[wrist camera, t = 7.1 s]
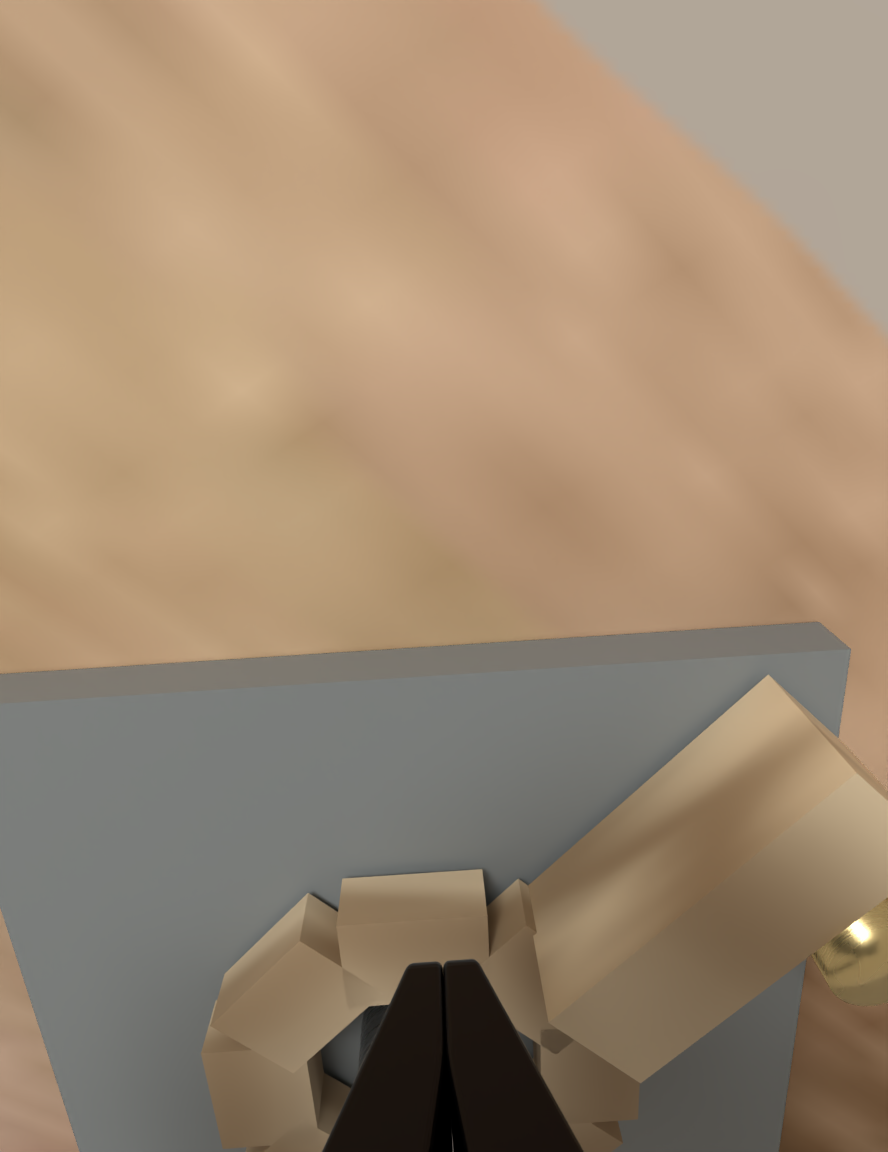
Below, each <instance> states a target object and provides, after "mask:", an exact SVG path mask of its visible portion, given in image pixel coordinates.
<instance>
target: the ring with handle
mask: <svg viewBox="0 0 888 1152" xmlns="http://www.w3.org/2000/svg"><path fill="white" fill-rule="evenodd" d="M887 897H888V791H887V790H886V788H885V787H884V786H883V785H882V784H881V783H880V782H879V781H878V780H877V779H876V778H875V777H874V776H873V774H872V773H871V772H870V771H869V770H868V769H867V768H866V767H865V766H864V765H863V764H862V763H861V761H860V760H859V759H858V758H857V757H856V756H855V755H854V754H853V753H852V752H851V751H850V750H849V749H848V747H847V746H846V745H845V744H844V743H843V742H842V741H841V740H840V739H838V738H837V737H836V736H835V735H834V734H833V733H832V732H831V731H830V730H829V729H828V728H826V727H825V726H824V725H823V724H822V723H821V722H820V721H819V720H818V719H817V718H815V717H814V716H813V715H812V714H811V713H810V712H809V711H808V710H807V709H806V708H805V707H803V706H802V705H801V704H800V703H799V702H798V701H797V700H796V699H795V698H794V697H793V696H791V695H790V694H789V693H788V692H787V691H786V690H785V689H784V688H783V687H782V686H781V685H779V684H778V683H777V682H776V681H775V680H774V679H773V678H772V677H771V676H770V675H767V676H766V677H765V678H764V679H762V680H761V681H760V682H759V683H758V684H757V685H756V686H755V687H753V688H752V689H751V690H750V691H749V692H748V693H747V694H745V695H744V696H743V697H742V698H741V699H740V700H739V701H737V702H736V703H735V704H734V705H733V706H732V707H731V708H729V709H728V710H727V711H726V712H725V713H724V714H723V715H722V716H720V717H719V718H718V719H717V720H716V721H715V722H714V723H712V724H711V725H710V726H709V727H708V728H707V729H706V730H704V731H703V732H702V733H701V734H700V735H699V736H698V737H697V738H695V739H694V740H693V741H692V742H691V743H690V744H689V745H687V746H686V747H685V748H684V749H683V750H682V751H681V752H679V753H678V754H677V755H676V756H675V757H674V758H673V759H671V760H670V761H669V762H668V763H667V764H666V765H665V766H664V767H662V768H661V769H660V770H659V771H658V772H657V773H656V774H654V775H653V776H652V777H651V778H650V779H649V780H648V781H646V782H645V783H644V784H643V785H642V786H641V787H640V788H639V789H637V790H636V791H635V792H634V793H633V794H632V795H631V796H629V797H628V798H627V799H626V800H625V801H624V802H623V803H621V804H620V805H619V806H618V807H617V808H616V809H615V810H613V811H612V812H611V813H610V814H609V815H608V816H607V817H606V818H604V819H603V820H602V821H601V822H600V823H599V824H598V825H596V826H595V827H594V828H593V829H592V830H591V831H590V832H588V833H587V834H586V835H585V836H584V837H583V838H582V839H581V840H579V841H578V842H577V843H576V844H575V845H574V846H573V847H571V848H570V849H569V850H568V851H567V852H566V853H565V854H563V855H562V856H561V857H560V858H559V859H558V860H557V861H555V862H554V863H553V864H552V865H551V866H550V867H549V868H548V869H546V870H545V871H544V872H543V873H542V874H541V875H540V876H538V877H537V878H536V879H535V880H534V881H533V882H532V883H530V884H529V885H527V884H525V883H524V882H522V881H521V880H520V879H517V880H516V881H515V882H514V883H513V884H512V885H510V886H509V887H508V888H507V889H506V890H505V891H504V892H503V893H501V894H500V895H499V896H498V897H497V898H496V899H495V900H494V901H492V902H491V903H490V904H489V905H488V906H487V907H486V898H485V889H484V881H483V872H482V869H477V870H462V871H447V872H433V873H418V874H403V875H388V876H373V877H359V878H344V879H342V885H341V893H340V901H339V909H338V912H337V911H335V910H334V909H332V908H331V907H329V906H328V905H326V904H325V903H323V902H322V901H320V900H318V899H317V898H315V897H314V896H312V895H311V894H309V893H307V894H306V895H305V896H304V897H303V898H302V899H301V900H300V901H299V902H298V903H297V904H296V905H295V906H294V907H293V908H292V909H291V910H290V911H289V912H288V913H287V914H286V915H285V916H284V917H283V918H282V919H281V920H280V921H279V922H277V923H276V924H275V925H274V926H273V927H272V928H271V929H270V930H269V931H268V932H267V933H266V934H265V935H264V936H263V937H262V938H261V939H260V940H259V941H258V942H257V943H256V944H255V945H254V946H253V947H252V948H251V949H250V950H249V951H248V952H247V953H246V954H245V955H244V956H242V957H241V958H240V959H239V960H238V961H237V962H236V963H235V964H234V965H233V966H232V967H231V968H230V969H229V970H228V971H227V972H226V973H225V974H224V978H223V981H222V985H221V989H220V992H219V996H218V999H217V1000H216V1001H215V1005H214V1008H213V1012H212V1016H211V1019H210V1023H209V1026H208V1030H207V1034H206V1037H205V1041H204V1044H203V1048H202V1052H201V1056H202V1060H203V1065H204V1069H205V1073H206V1078H207V1082H208V1087H209V1091H210V1095H211V1100H212V1104H213V1108H214V1113H215V1117H216V1121H217V1126H218V1130H219V1134H220V1139H221V1143H222V1148H223V1149H230V1148H244V1147H246V1152H322V1150H323V1148H324V1146H325V1144H326V1142H327V1139H328V1137H329V1135H330V1133H331V1131H332V1129H333V1126H334V1124H335V1122H336V1120H337V1118H338V1115H339V1113H340V1111H341V1109H342V1107H343V1104H344V1102H345V1100H346V1098H347V1096H348V1094H349V1091H350V1089H351V1088H350V1087H348V1086H346V1085H344V1084H343V1083H341V1082H339V1081H338V1080H336V1079H334V1078H332V1077H331V1076H329V1075H327V1074H325V1073H324V1069H323V1063H322V1056H321V1050H320V1049H322V1048H323V1047H324V1046H325V1045H326V1044H327V1043H328V1042H329V1041H331V1040H332V1039H333V1038H334V1037H335V1036H336V1035H337V1034H338V1033H340V1032H341V1031H342V1030H343V1029H344V1028H345V1027H346V1026H347V1025H349V1024H350V1023H351V1022H352V1021H353V1020H354V1019H355V1018H356V1017H358V1016H359V1015H360V1014H361V1013H362V1012H363V1011H364V1010H365V1009H367V1008H368V1007H369V1006H378V1005H389V1004H390V1002H391V999H392V997H393V995H394V993H395V991H396V989H397V986H398V984H399V982H400V980H401V978H402V975H403V973H404V971H405V969H406V968H407V966H408V965H410V964H411V963H420V962H434V961H437V962H439V963H441V965H442V967H443V965H444V963H445V962H446V961H449V960H463V959H475V960H476V961H477V962H478V963H479V964H480V965H481V967H482V969H483V971H484V972H485V974H486V976H487V978H488V980H489V981H490V983H491V985H492V987H493V989H494V990H495V992H496V994H497V996H498V998H499V999H500V1001H501V1003H502V1005H503V1007H504V1008H505V1010H506V1012H507V1014H508V1016H509V1017H510V1019H511V1021H512V1023H513V1025H514V1026H515V1028H516V1030H518V1031H519V1032H521V1033H522V1034H524V1035H526V1036H527V1037H529V1038H530V1039H532V1040H533V1061H534V1062H535V1064H536V1066H537V1068H538V1070H539V1071H540V1073H541V1075H542V1077H543V1079H544V1080H545V1082H546V1084H547V1086H548V1088H549V1089H550V1091H551V1093H552V1095H553V1097H554V1098H555V1100H556V1102H557V1104H558V1106H559V1107H560V1109H561V1111H562V1113H563V1115H564V1116H565V1118H566V1120H567V1122H568V1124H569V1125H570V1127H571V1129H572V1131H573V1133H574V1134H575V1136H576V1138H577V1140H578V1142H579V1143H580V1145H581V1147H582V1149H583V1151H584V1152H612V1151H613V1150H615V1149H616V1148H617V1147H619V1146H620V1145H621V1144H623V1141H622V1136H621V1132H620V1128H619V1124H618V1121H622V1120H636V1119H638V1108H639V1087H640V1083H642V1082H643V1081H645V1080H646V1079H647V1078H648V1077H650V1076H651V1075H652V1074H654V1073H655V1072H656V1071H658V1070H659V1069H660V1068H662V1067H663V1066H664V1065H666V1064H667V1063H668V1062H670V1061H671V1060H672V1059H674V1058H675V1057H676V1056H678V1055H679V1054H680V1053H682V1052H683V1051H684V1050H686V1049H687V1048H688V1047H690V1046H691V1045H692V1044H694V1043H695V1042H696V1041H698V1040H699V1039H700V1038H702V1037H703V1036H704V1035H706V1034H707V1033H708V1032H710V1031H711V1030H712V1029H714V1028H715V1027H716V1026H718V1025H719V1024H720V1023H722V1022H723V1021H724V1020H725V1019H727V1018H728V1017H729V1016H731V1015H732V1014H733V1013H735V1012H736V1011H737V1010H739V1009H740V1008H741V1007H743V1006H744V1005H745V1004H747V1003H748V1002H749V1001H751V1000H752V999H753V998H755V997H756V996H757V995H759V994H760V993H761V992H763V991H764V990H765V989H767V988H768V987H769V986H771V985H772V984H773V983H775V982H776V981H777V980H779V979H780V978H781V977H783V976H784V975H785V974H787V973H788V972H789V971H791V970H792V969H793V968H795V967H796V966H797V965H799V964H800V963H801V962H802V961H804V960H805V959H806V958H808V957H809V956H810V955H812V954H813V953H814V952H816V951H817V950H818V949H820V948H821V947H822V946H824V945H825V944H826V943H828V942H829V941H830V940H832V939H833V938H834V937H836V936H837V935H838V934H840V933H841V932H842V931H844V930H845V929H846V928H848V927H849V926H850V925H852V924H853V923H854V922H856V921H857V920H858V919H860V918H861V917H862V916H864V915H865V914H866V913H868V912H869V911H870V910H872V909H873V908H874V907H876V906H877V905H878V904H879V903H881V902H882V901H883V900H885V899H886V898H887Z"/></svg>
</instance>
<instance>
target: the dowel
mask: <svg viewBox="0 0 888 1152" xmlns="http://www.w3.org/2000/svg"><path fill="white" fill-rule="evenodd" d="M811 956H812V958H813V960H814V961H815V963H816V965H817V967H818V968H819V970H820V972H821V973H822V975H823V977H824V979H825V980H826V982H827V984H828V985H829V987H830V989H831V990H832V992H833V993H834V994H835V995H836V996H837V997H838V998H840V999H841V1000H843V1001H845V1002H847V1003H850V1004H853V1005H858V1006H875V1005H881V1004H885V1003H888V897H887V898H886V899H885V900H883V901H882V902H881V903H879V904H878V905H877V906H876V907H874V908H873V909H872V910H870V911H869V912H868V913H866V914H865V915H864V916H862V917H861V918H860V919H858V920H857V921H856V922H854V923H853V924H852V925H850V926H849V927H848V928H846V929H845V930H844V931H842V932H841V933H840V934H838V935H837V936H836V937H834V938H833V939H832V940H830V941H829V942H828V943H826V944H825V945H824V946H822V947H821V948H820V949H818V950H817V951H816V952H814V953H813V954H812V955H811Z"/></svg>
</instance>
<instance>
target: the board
mask: <svg viewBox="0 0 888 1152" xmlns="http://www.w3.org/2000/svg"><path fill="white" fill-rule="evenodd" d="M850 653H851V649H850V648H849V647H848V646H847V645H846V644H844V643H843V642H842V641H841V640H840V639H839V638H837V637H836V636H835V635H834V634H833V633H831V632H830V631H829V630H828V629H827V628H826V627H824V626H823V625H822V624H821V623H820V622H811V623H795V624H779V625H764V626H748V627H732V628H716V629H701V630H685V631H669V632H654V633H638V634H622V635H607V636H591V637H575V638H560V639H544V640H528V641H512V642H497V643H481V644H465V645H450V646H434V647H418V648H403V649H387V650H371V651H356V652H340V653H324V654H308V655H293V656H277V657H261V658H246V659H230V660H214V661H199V662H183V663H167V664H152V665H136V666H120V667H104V668H89V669H73V670H57V671H42V672H26V673H10V674H0V908H1V911H2V914H3V917H4V920H5V923H6V927H7V930H8V933H9V936H10V939H11V942H12V945H13V948H14V951H15V954H16V957H17V960H18V963H19V967H20V970H21V973H22V976H23V979H24V982H25V985H26V988H27V991H28V994H29V997H30V1000H31V1003H32V1007H33V1010H34V1013H35V1016H36V1019H37V1022H38V1025H39V1028H40V1031H41V1034H42V1037H43V1040H44V1043H45V1046H46V1050H47V1053H48V1056H49V1059H50V1062H51V1065H52V1068H53V1071H54V1074H55V1077H56V1080H57V1083H58V1086H59V1090H60V1093H61V1096H62V1099H63V1102H64V1105H65V1108H66V1111H67V1114H68V1117H69V1120H70V1123H71V1126H72V1130H73V1133H74V1136H75V1139H76V1142H77V1145H78V1148H79V1151H80V1152H246V1147H244V1148H230V1149H223V1148H222V1143H221V1139H220V1134H219V1130H218V1126H217V1121H216V1117H215V1113H214V1108H213V1104H212V1100H211V1095H210V1091H209V1087H208V1082H207V1078H206V1073H205V1069H204V1065H203V1060H202V1056H201V1052H202V1048H203V1044H204V1041H205V1037H206V1034H207V1030H208V1026H209V1023H210V1019H211V1016H212V1012H213V1008H214V1005H215V1001H216V1000H217V999H218V996H219V992H220V989H221V985H222V981H223V978H224V974H225V973H226V972H227V971H228V970H229V969H230V968H231V967H232V966H233V965H234V964H235V963H236V962H237V961H238V960H239V959H240V958H241V957H242V956H244V955H245V954H246V953H247V952H248V951H249V950H250V949H251V948H252V947H253V946H254V945H255V944H256V943H257V942H258V941H259V940H260V939H261V938H262V937H263V936H264V935H265V934H266V933H267V932H268V931H269V930H270V929H271V928H272V927H273V926H274V925H275V924H276V923H277V922H279V921H280V920H281V919H282V918H283V917H284V916H285V915H286V914H287V913H288V912H289V911H290V910H291V909H292V908H293V907H294V906H295V905H296V904H297V903H298V902H299V901H300V900H301V899H302V898H303V897H304V896H305V895H306V894H307V893H309V894H311V895H312V896H314V897H315V898H317V899H318V900H320V901H322V902H323V903H325V904H326V905H328V906H329V907H331V908H332V909H334V910H335V911H337V912H338V909H339V901H340V893H341V885H342V879H344V878H359V877H373V876H388V875H403V874H418V873H433V872H447V871H462V870H477V869H482V872H483V881H484V889H485V898H486V907H487V906H488V905H489V904H490V903H491V902H492V901H494V900H495V899H496V898H497V897H498V896H499V895H500V894H501V893H503V892H504V891H505V890H506V889H507V888H508V887H509V886H510V885H512V884H513V883H514V882H515V881H516V880H517V879H520V880H521V881H522V882H524V883H525V884H527V885H529V884H530V883H532V882H533V881H534V880H535V879H536V878H537V877H538V876H540V875H541V874H542V873H543V872H544V871H545V870H546V869H548V868H549V867H550V866H551V865H552V864H553V863H554V862H555V861H557V860H558V859H559V858H560V857H561V856H562V855H563V854H565V853H566V852H567V851H568V850H569V849H570V848H571V847H573V846H574V845H575V844H576V843H577V842H578V841H579V840H581V839H582V838H583V837H584V836H585V835H586V834H587V833H588V832H590V831H591V830H592V829H593V828H594V827H595V826H596V825H598V824H599V823H600V822H601V821H602V820H603V819H604V818H606V817H607V816H608V815H609V814H610V813H611V812H612V811H613V810H615V809H616V808H617V807H618V806H619V805H620V804H621V803H623V802H624V801H625V800H626V799H627V798H628V797H629V796H631V795H632V794H633V793H634V792H635V791H636V790H637V789H639V788H640V787H641V786H642V785H643V784H644V783H645V782H646V781H648V780H649V779H650V778H651V777H652V776H653V775H654V774H656V773H657V772H658V771H659V770H660V769H661V768H662V767H664V766H665V765H666V764H667V763H668V762H669V761H670V760H671V759H673V758H674V757H675V756H676V755H677V754H678V753H679V752H681V751H682V750H683V749H684V748H685V747H686V746H687V745H689V744H690V743H691V742H692V741H693V740H694V739H695V738H697V737H698V736H699V735H700V734H701V733H702V732H703V731H704V730H706V729H707V728H708V727H709V726H710V725H711V724H712V723H714V722H715V721H716V720H717V719H718V718H719V717H720V716H722V715H723V714H724V713H725V712H726V711H727V710H728V709H729V708H731V707H732V706H733V705H734V704H735V703H736V702H737V701H739V700H740V699H741V698H742V697H743V696H744V695H745V694H747V693H748V692H749V691H750V690H751V689H752V688H753V687H755V686H756V685H757V684H758V683H759V682H760V681H761V680H762V679H764V678H765V677H766V676H767V675H770V676H771V677H772V678H773V679H774V680H775V681H776V682H777V683H778V684H779V685H781V686H782V687H783V688H784V689H785V690H786V691H787V692H788V693H789V694H790V695H791V696H793V697H794V698H795V699H796V700H797V701H798V702H799V703H800V704H801V705H802V706H803V707H805V708H806V709H807V710H808V711H809V712H810V713H811V714H812V715H813V716H814V717H815V718H817V719H818V720H819V721H820V722H821V723H822V724H823V725H824V726H825V727H826V728H828V729H829V730H830V731H831V732H832V733H833V734H834V735H835V736H836V737H837V738H838V736H839V729H840V722H841V715H842V708H843V702H844V695H845V688H846V681H847V674H848V667H849V660H850ZM806 959H807V958H806ZM806 959H805V960H804V961H802V962H801V963H800V964H799V965H797V966H796V967H795V968H793V969H792V970H791V971H789V972H788V973H787V974H785V975H784V976H783V977H781V978H780V979H779V980H777V981H776V982H775V983H773V984H772V985H771V986H769V987H768V988H767V989H765V990H764V991H763V992H761V993H760V994H759V995H757V996H756V997H755V998H753V999H752V1000H751V1001H749V1002H748V1003H747V1004H745V1005H744V1006H743V1007H741V1008H740V1009H739V1010H737V1011H736V1012H735V1013H733V1014H732V1015H731V1016H729V1017H728V1018H727V1019H725V1020H724V1021H723V1022H722V1023H720V1024H719V1025H718V1026H716V1027H715V1028H714V1029H712V1030H711V1031H710V1032H708V1033H707V1034H706V1035H704V1036H703V1037H702V1038H700V1039H699V1040H698V1041H696V1042H695V1043H694V1044H692V1045H691V1046H690V1047H688V1048H687V1049H686V1050H684V1051H683V1052H682V1053H680V1054H679V1055H678V1056H676V1057H675V1058H674V1059H672V1060H671V1061H670V1062H668V1063H667V1064H666V1065H664V1066H663V1067H662V1068H660V1069H659V1070H658V1071H656V1072H655V1073H654V1074H652V1075H651V1076H650V1077H648V1078H647V1079H646V1080H645V1081H643V1082H642V1083H640V1087H639V1108H638V1119H636V1120H622V1121H618V1124H619V1128H620V1132H621V1136H622V1141H623V1144H621V1145H620V1146H619V1147H617V1148H616V1149H615V1150H613V1151H612V1152H779V1146H780V1139H781V1132H782V1125H783V1118H784V1112H785V1105H786V1098H787V1091H788V1084H789V1077H790V1070H791V1063H792V1056H793V1049H794V1042H795V1035H796V1028H797V1021H798V1014H799V1007H800V1000H801V993H802V986H803V979H804V973H805V966H806ZM364 1011H365V1010H364ZM364 1011H363V1012H362V1013H361V1014H360V1015H359V1016H358V1017H356V1018H355V1019H354V1020H353V1021H352V1022H351V1023H350V1024H349V1025H347V1026H346V1027H345V1028H344V1029H343V1030H342V1031H341V1032H340V1033H338V1034H337V1035H336V1036H335V1037H334V1038H333V1039H332V1040H331V1041H329V1042H328V1043H327V1044H326V1045H325V1046H324V1047H323V1048H322V1049H320V1050H321V1056H322V1063H323V1069H324V1073H325V1074H327V1075H329V1076H331V1077H332V1078H334V1079H336V1080H338V1081H339V1082H341V1083H343V1084H344V1085H346V1086H348V1087H350V1088H351V1087H352V1085H353V1083H354V1080H355V1078H356V1076H357V1074H358V1064H359V1050H360V1037H361V1024H362V1017H363V1014H364ZM517 1032H518V1034H519V1035H520V1037H521V1039H522V1041H523V1043H524V1044H525V1046H526V1048H527V1050H528V1052H529V1053H530V1055H531V1057H532V1059H533V1040H532V1039H530V1038H529V1037H527V1036H526V1035H524V1034H522V1033H521V1032H519V1031H518V1030H517Z"/></svg>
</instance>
